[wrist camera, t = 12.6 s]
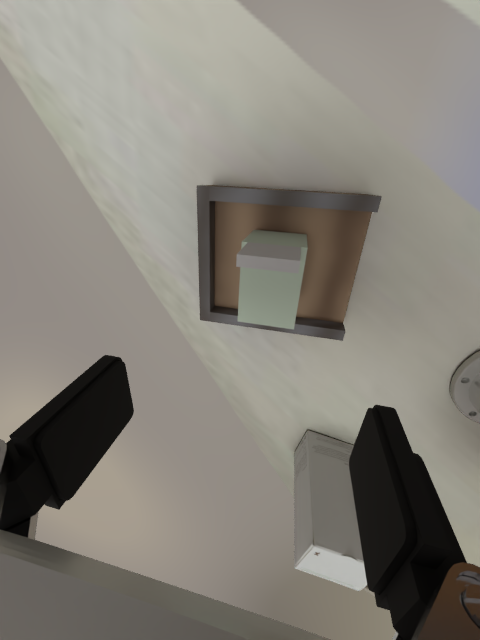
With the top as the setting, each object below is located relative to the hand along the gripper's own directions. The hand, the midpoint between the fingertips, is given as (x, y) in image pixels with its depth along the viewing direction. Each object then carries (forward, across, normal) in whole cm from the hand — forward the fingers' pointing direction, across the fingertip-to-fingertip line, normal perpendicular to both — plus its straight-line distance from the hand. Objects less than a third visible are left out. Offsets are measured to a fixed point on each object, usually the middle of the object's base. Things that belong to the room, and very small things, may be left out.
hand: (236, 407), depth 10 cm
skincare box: (+24, -11, +30) cm, 40 cm away
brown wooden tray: (+23, 0, 0) cm, 23 cm away
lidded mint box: (+20, 0, 0) cm, 20 cm away
